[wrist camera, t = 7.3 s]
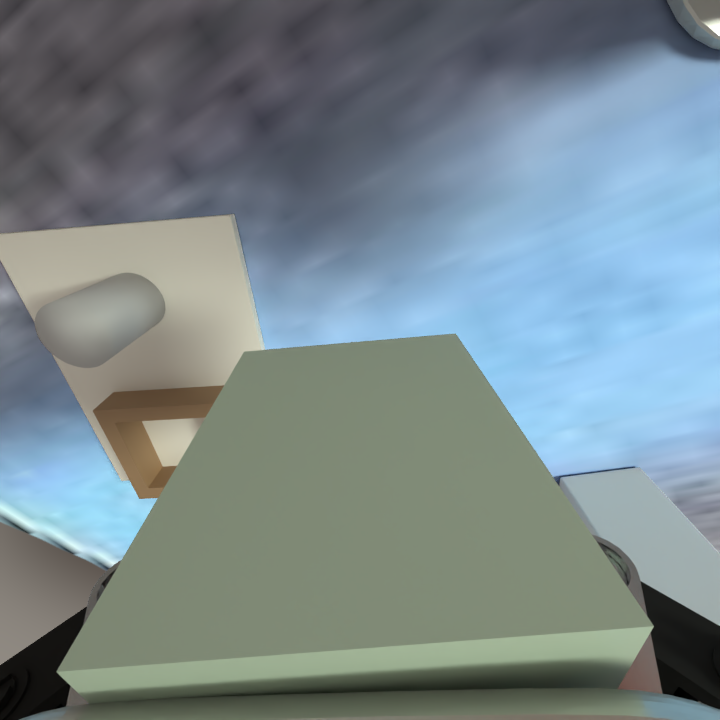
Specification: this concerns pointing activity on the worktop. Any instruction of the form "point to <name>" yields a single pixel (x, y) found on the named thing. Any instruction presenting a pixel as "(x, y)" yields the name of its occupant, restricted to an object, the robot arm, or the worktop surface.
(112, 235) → the board
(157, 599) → the pale green block
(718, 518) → the worktop surface
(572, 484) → the milk carton
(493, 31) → the worktop surface
